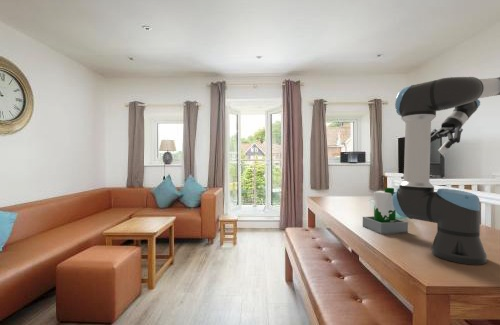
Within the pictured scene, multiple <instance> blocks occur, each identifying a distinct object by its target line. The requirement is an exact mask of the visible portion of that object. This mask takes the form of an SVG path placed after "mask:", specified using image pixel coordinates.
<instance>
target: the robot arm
mask: <svg viewBox="0 0 500 325" xmlns="http://www.w3.org/2000/svg"><path fill="white" fill-rule="evenodd" d="M495 96H496V97H497V96H500V76H499V77H490V78H477V77H474V76H450V77H443V78H438V79H435V80H431V81H426V82H422V83H421V82H420V83H417V84H411V85H409V86H407V87H403V88H402V89H401V90H400V91H399V92H398V93H397V95H396V97H395V103H394V106H395V111H396V113H397V115H399V116H401V120H402V122H404V123H405V125H404V126H405V128H404V129H405V130H404V156H403V157H404V158H403V160H404V161H403V162H404V163H403V164H404V165H403V166H404V167H403V181H402V182H400V183H399V188H396V189H394V194H393V198H392V201H393V206H394V209H395V211H396V214H397V215H398V216H400V217H403V218H407V219H410V220H419V221H423V222H428V223H433V224H434V223H435V224H436V226H437V227H436V228H437V229H436V230H437V231H436V234H435V237H434V239H433V242H432V244H431V247H430V250H431V254H432V255H433V256H435V257H437V258H440V259H442V260H444V261H445V260H446V261H450V262H453V263H458V264H464V265H474V266H476V265H477V266H478V265H484V264H487V253H486V252H485V248H484V245H483V244H482V240H481V238H480V236H481V235H480V234H481V230H480V228H481V226H480V225H481V210H482V208H481V205H480V197H479V196H478V195H477V194H474V193H471V192H468V191H464V190H459V189H451V188H438V189H437V191H435V186H434V184H432V183H431V182H430V175H431V174H430V168H431V143H432V142H434V141H436V140H439V139H442V138H447V139H448V140H445V141H444V143H443V144H442V145H441V146H440V147H439V149H437V151H438V152H439V153H440V155H444V154H445V153H446V152H447V151H448V150H449V149H450V148H451V147H452V146H453V145H455V143H456V144H458V143H460V142H461V136H462V132H463V130H464V129H463V128H462V127H463V126H464V125H465V124H466V123H467V121H468V120H469V119H470V118H471V117H472V115H473V114H474V113H475V112H476V111H477V110H478V108H480V105H481V101H480V99H483V98H488V97H495ZM453 108H454V109H453ZM449 109H450V110H451V109H453V111H451V113H450V114H448V116H447V117H446V118H445V119H444V120H443V121H442V123H441V125H440V126H441V127H440V128H439V129H438V130H437V129H436V128H435V129H433V130H432V128H431V126H432V121H433V120H434V119H435V118H436V117H437V112H439V111H446V110H449Z"/></svg>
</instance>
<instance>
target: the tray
mask: <svg viewBox="0 0 500 325" xmlns="http://www.w3.org/2000/svg"><path fill="white" fill-rule="evenodd" d="M408 225H409V221H405V220H403V219H399V218H396V221H395V222H388V223H381V222H378V221H375V220H374V215H372V216H370V215H369V216H362V228H366V229H367V230H370V231H372V232H375V233H377V234H379V233H380V234H379V235H391V234H407V233H409V229H408V228H409V226H408Z"/></svg>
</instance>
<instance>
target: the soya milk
mask: <svg viewBox="0 0 500 325" xmlns="http://www.w3.org/2000/svg"><path fill="white" fill-rule="evenodd" d="M394 191H395V188H394V187H384V190H377V191H373V216H374V220H375V221H378V222H381V223H388V222H395V221H396V219H397V217H396V215H397V212H396V211H395V209H394V206H393V201H392V198H393V194H394Z"/></svg>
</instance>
